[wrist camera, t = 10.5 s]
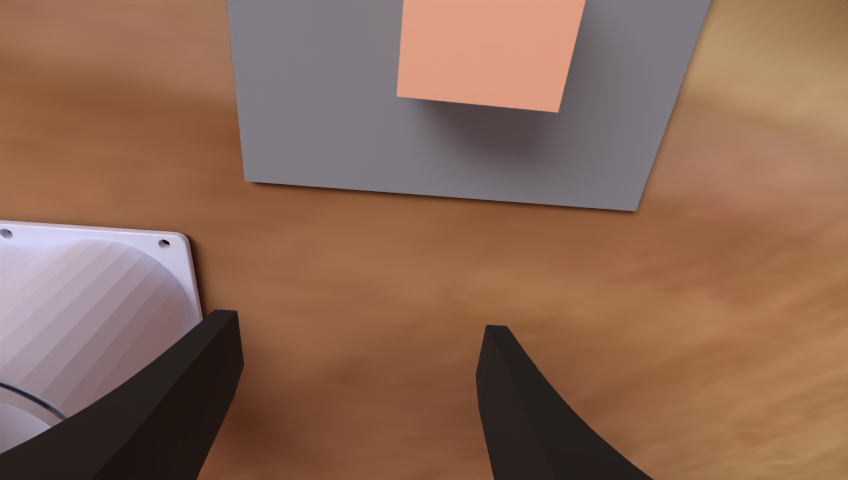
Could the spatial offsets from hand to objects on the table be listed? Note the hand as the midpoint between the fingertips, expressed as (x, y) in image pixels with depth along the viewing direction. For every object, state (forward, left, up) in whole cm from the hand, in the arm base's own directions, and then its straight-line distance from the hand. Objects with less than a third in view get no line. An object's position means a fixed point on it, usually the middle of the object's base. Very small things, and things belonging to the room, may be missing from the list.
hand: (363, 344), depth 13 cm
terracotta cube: (+3, +9, -9) cm, 13 cm away
